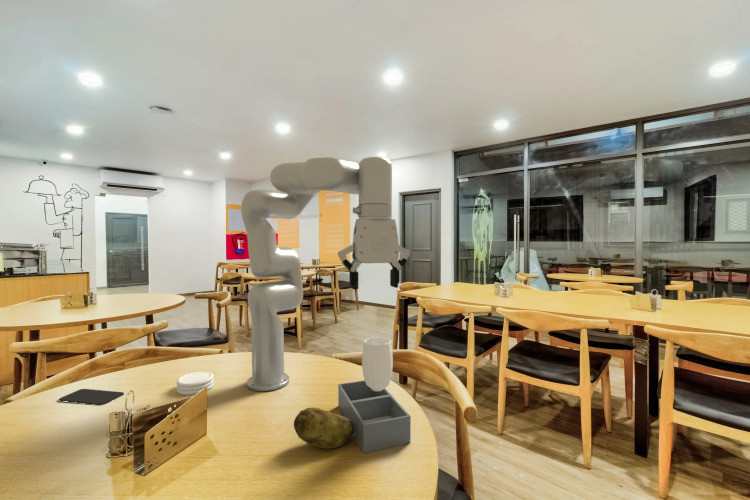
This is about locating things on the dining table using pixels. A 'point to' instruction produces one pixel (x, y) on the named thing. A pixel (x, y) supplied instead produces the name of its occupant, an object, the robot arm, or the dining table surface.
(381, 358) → the cup
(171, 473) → the dining table surface
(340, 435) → the potato
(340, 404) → the divided open storage box
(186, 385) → the coaster
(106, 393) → the phone
